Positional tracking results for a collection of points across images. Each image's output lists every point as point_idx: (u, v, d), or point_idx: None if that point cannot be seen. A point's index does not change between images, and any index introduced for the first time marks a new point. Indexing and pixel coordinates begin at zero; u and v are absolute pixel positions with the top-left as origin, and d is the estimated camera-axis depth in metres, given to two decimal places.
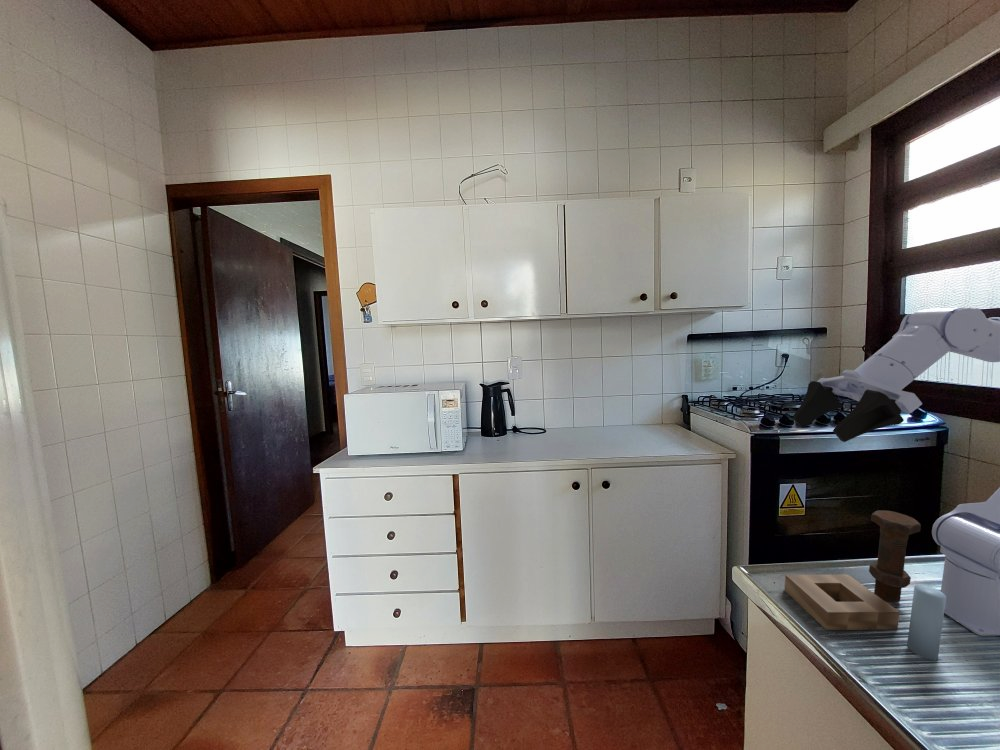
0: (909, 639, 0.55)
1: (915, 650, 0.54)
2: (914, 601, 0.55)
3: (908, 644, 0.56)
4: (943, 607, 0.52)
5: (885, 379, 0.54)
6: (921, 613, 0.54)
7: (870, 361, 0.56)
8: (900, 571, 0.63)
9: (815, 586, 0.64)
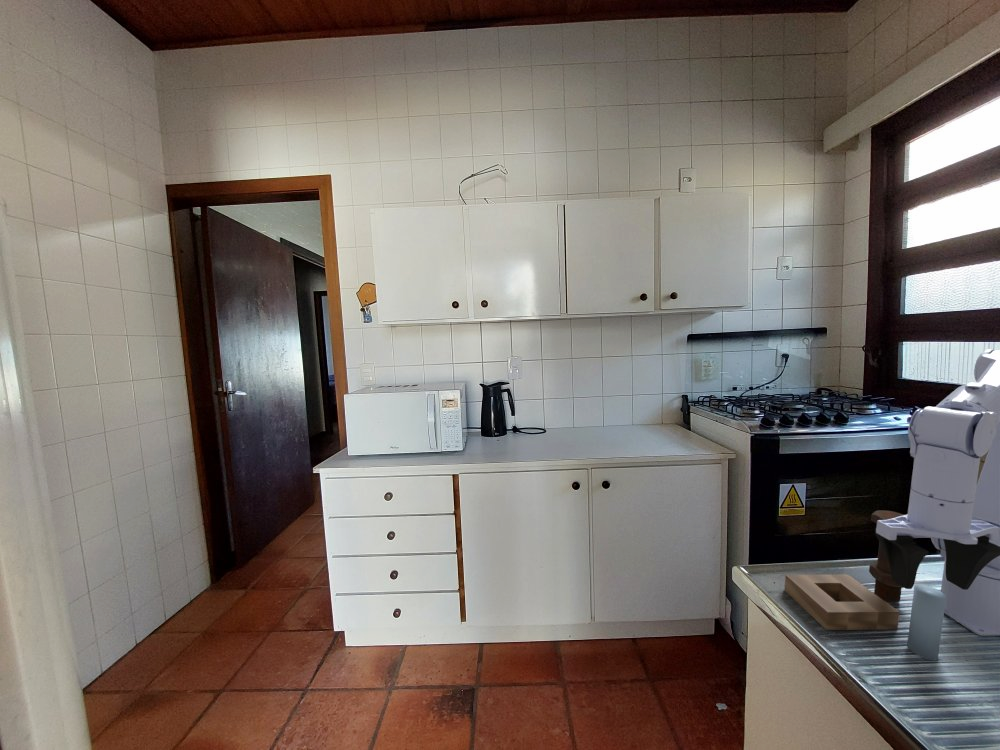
0: (909, 639, 0.55)
1: (915, 650, 0.54)
2: (914, 601, 0.55)
3: (908, 644, 0.56)
4: (943, 607, 0.52)
5: None
6: (921, 613, 0.54)
7: (963, 512, 0.49)
8: None
9: (815, 586, 0.64)
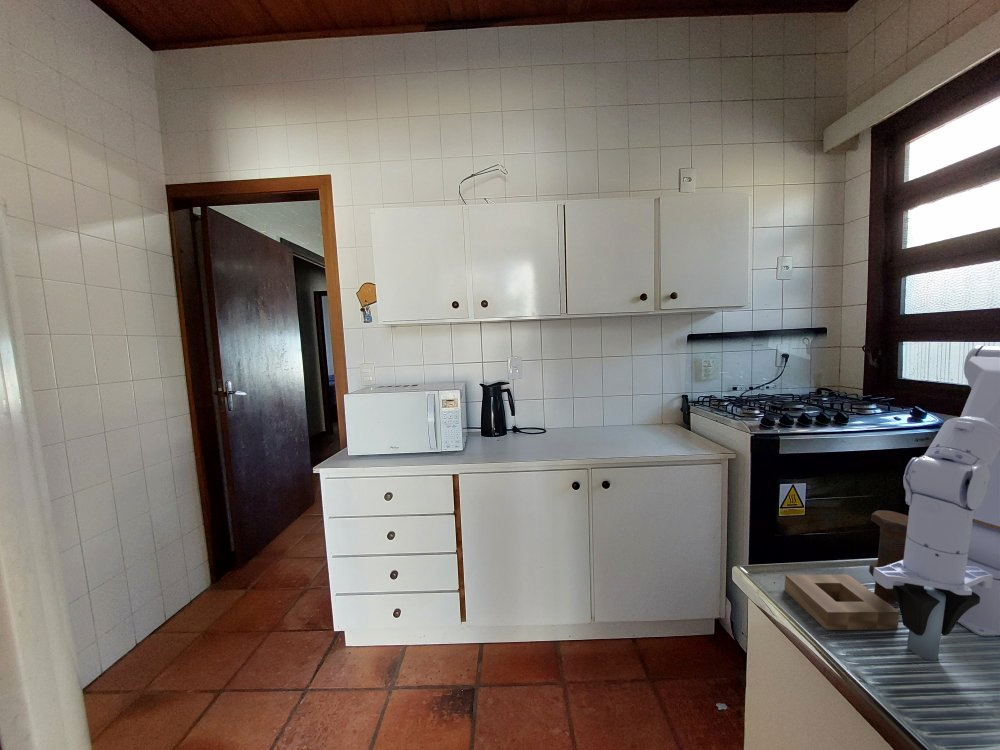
0: (909, 639, 0.55)
1: (915, 650, 0.54)
2: None
3: (908, 644, 0.56)
4: (943, 607, 0.52)
5: None
6: None
7: (958, 563, 0.50)
8: None
9: (815, 586, 0.64)
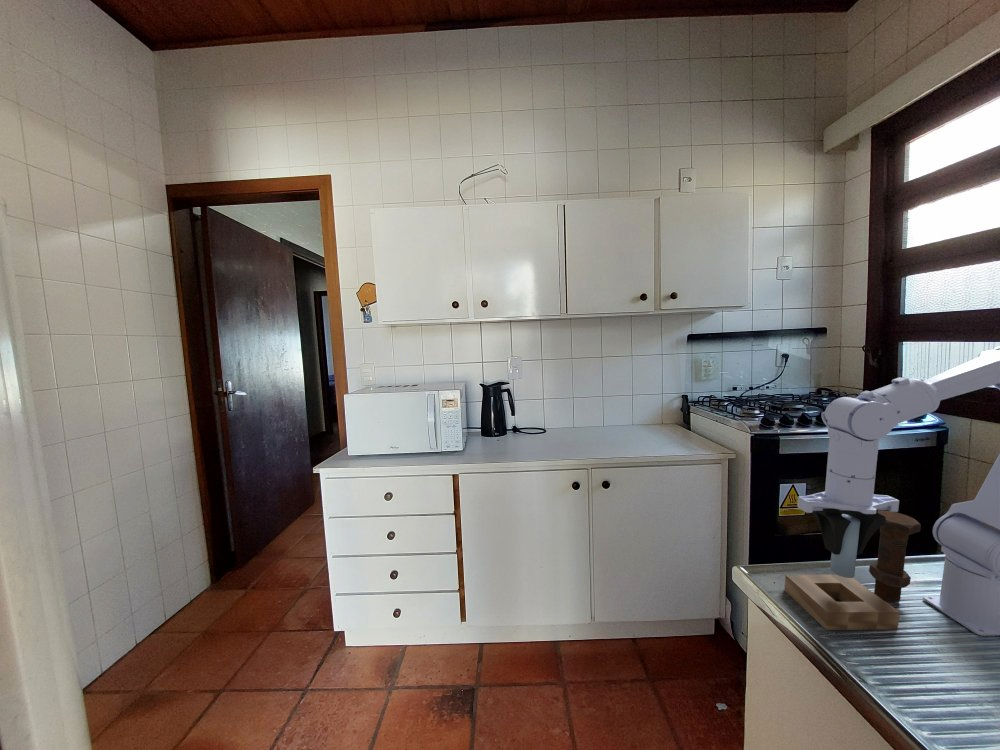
0: (831, 562, 0.63)
1: (836, 571, 0.62)
2: None
3: (831, 567, 0.63)
4: (858, 530, 0.60)
5: None
6: None
7: (865, 487, 0.58)
8: (900, 571, 0.63)
9: (815, 586, 0.64)
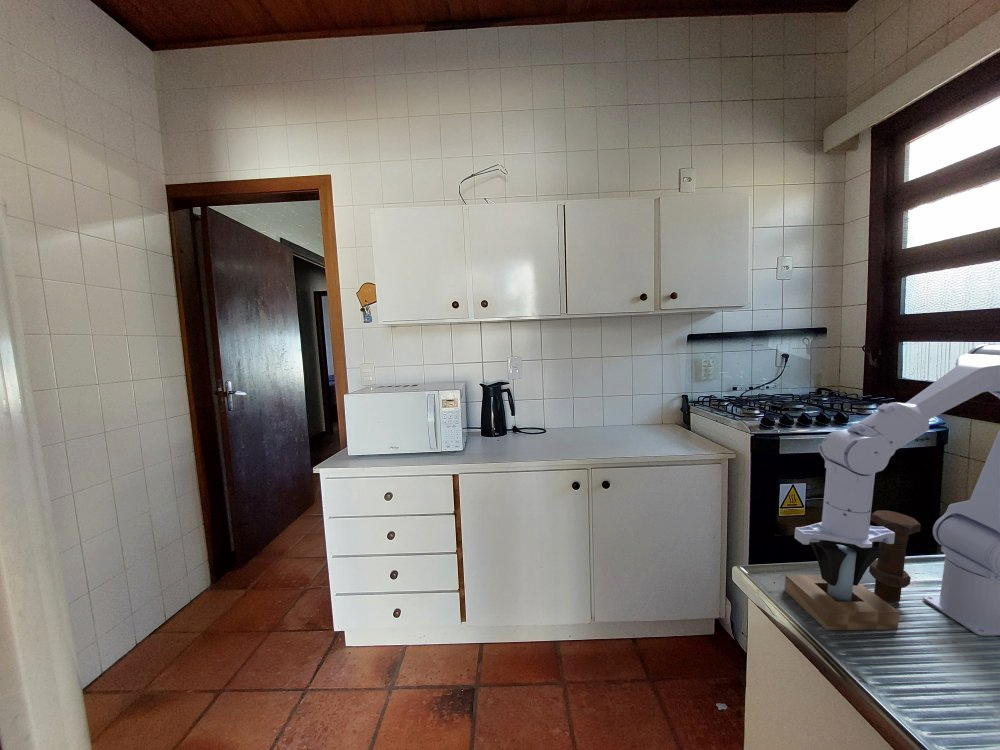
0: (828, 592, 0.63)
1: None
2: None
3: None
4: (854, 562, 0.61)
5: None
6: None
7: (861, 521, 0.58)
8: (900, 571, 0.63)
9: (815, 586, 0.64)
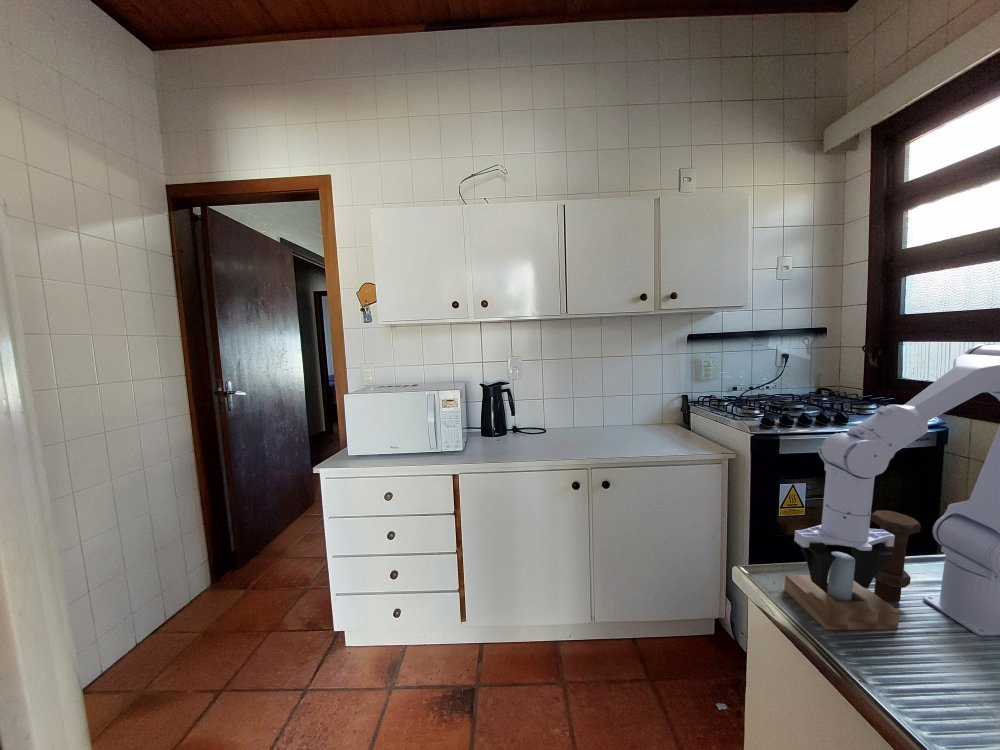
0: None
1: None
2: (831, 566, 0.63)
3: None
4: (853, 569, 0.61)
5: None
6: (836, 576, 0.62)
7: (861, 524, 0.59)
8: (900, 571, 0.63)
9: (815, 586, 0.64)
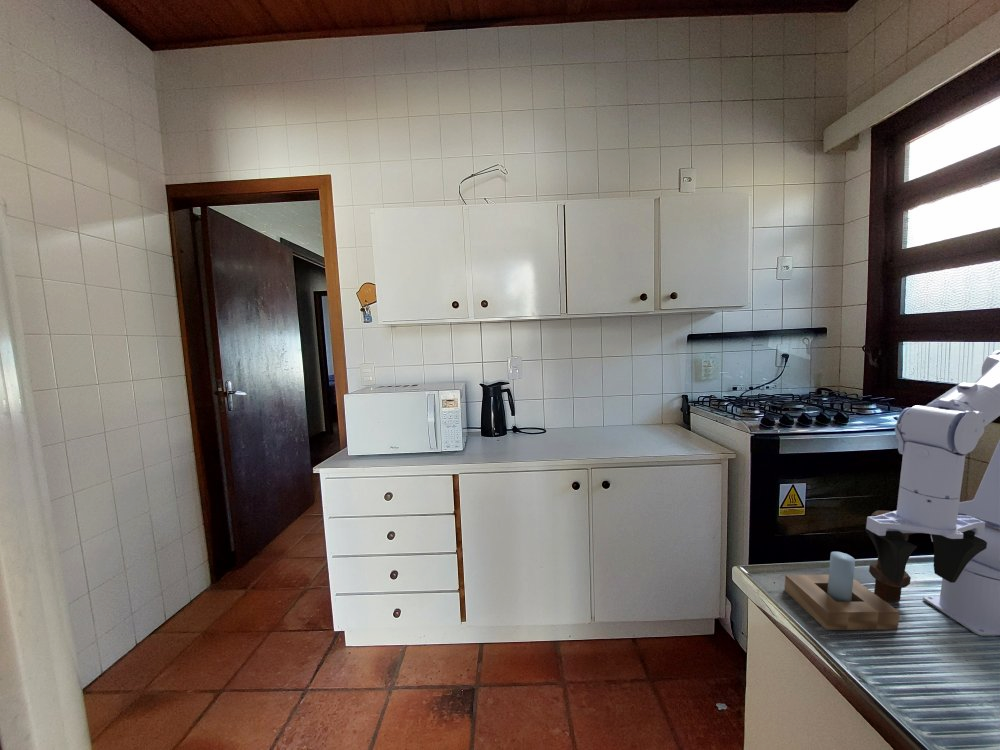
0: None
1: None
2: (830, 566, 0.63)
3: None
4: (853, 569, 0.61)
5: None
6: (836, 576, 0.62)
7: (950, 508, 0.51)
8: None
9: (815, 586, 0.64)
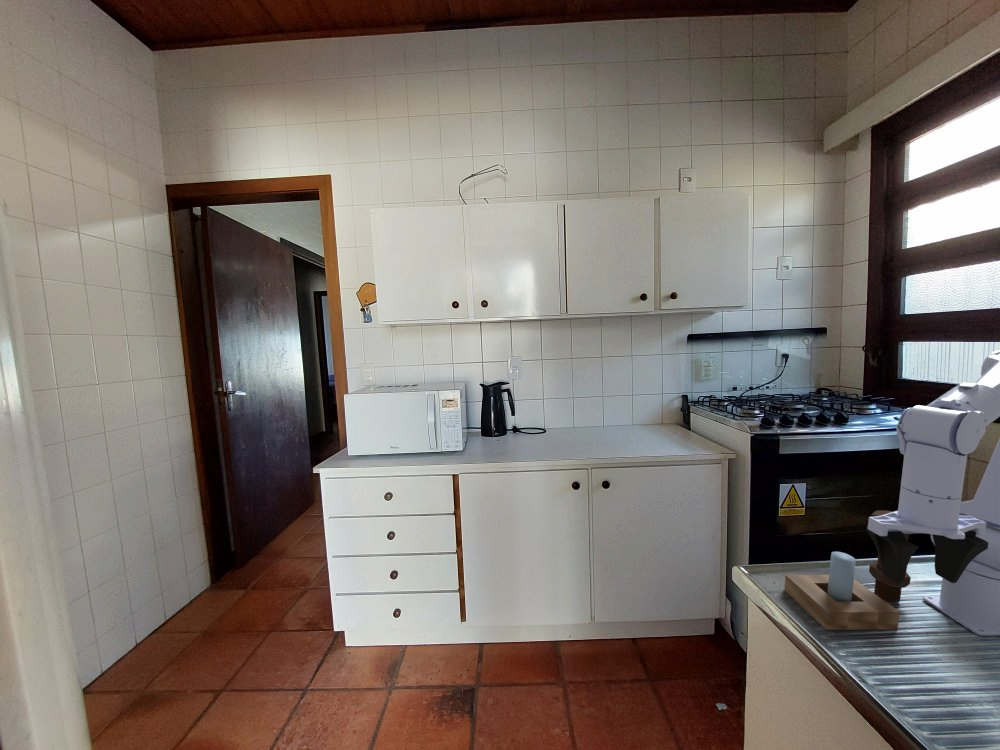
0: None
1: None
2: (831, 566, 0.63)
3: None
4: (853, 569, 0.61)
5: None
6: (837, 576, 0.62)
7: (951, 508, 0.51)
8: None
9: (815, 586, 0.64)
